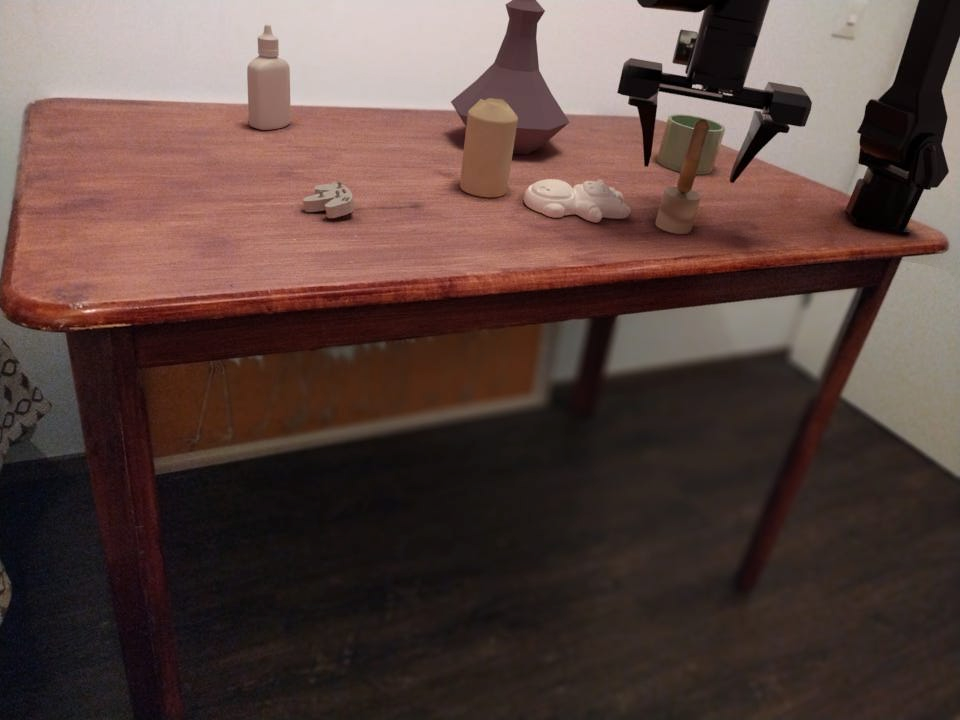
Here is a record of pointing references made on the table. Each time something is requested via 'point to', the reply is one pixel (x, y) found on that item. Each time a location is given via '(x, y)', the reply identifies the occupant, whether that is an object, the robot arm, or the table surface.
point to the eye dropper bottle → (268, 85)
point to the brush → (684, 187)
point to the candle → (488, 148)
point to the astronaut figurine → (576, 200)
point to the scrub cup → (678, 142)
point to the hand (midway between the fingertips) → (688, 173)
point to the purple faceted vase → (518, 81)
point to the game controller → (331, 200)
